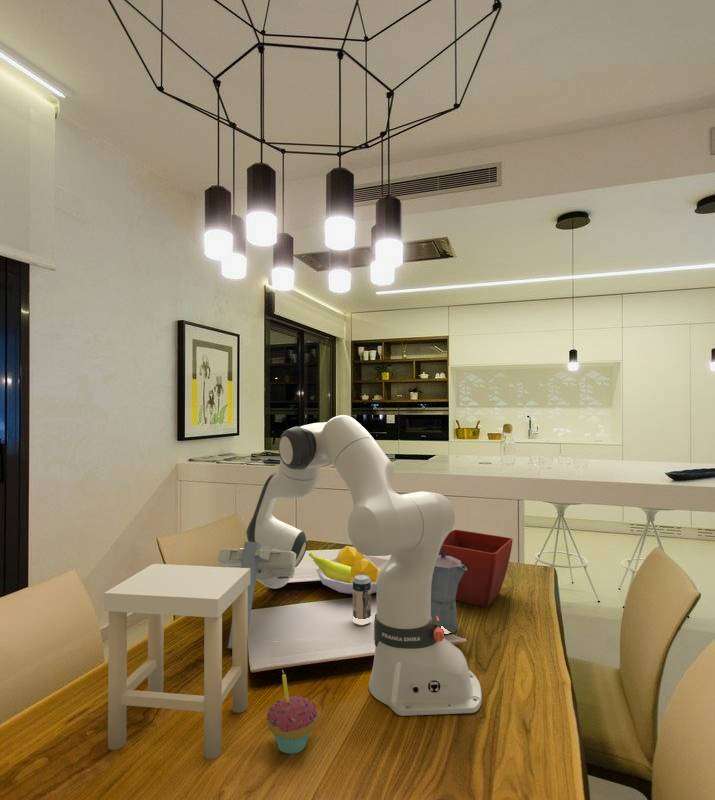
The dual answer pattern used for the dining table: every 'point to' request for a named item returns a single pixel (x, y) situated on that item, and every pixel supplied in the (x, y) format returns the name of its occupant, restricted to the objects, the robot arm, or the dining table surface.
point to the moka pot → (446, 590)
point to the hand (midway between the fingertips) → (249, 552)
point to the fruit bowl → (348, 569)
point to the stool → (159, 596)
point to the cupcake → (292, 721)
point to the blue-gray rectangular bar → (252, 563)
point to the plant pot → (479, 564)
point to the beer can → (361, 596)
